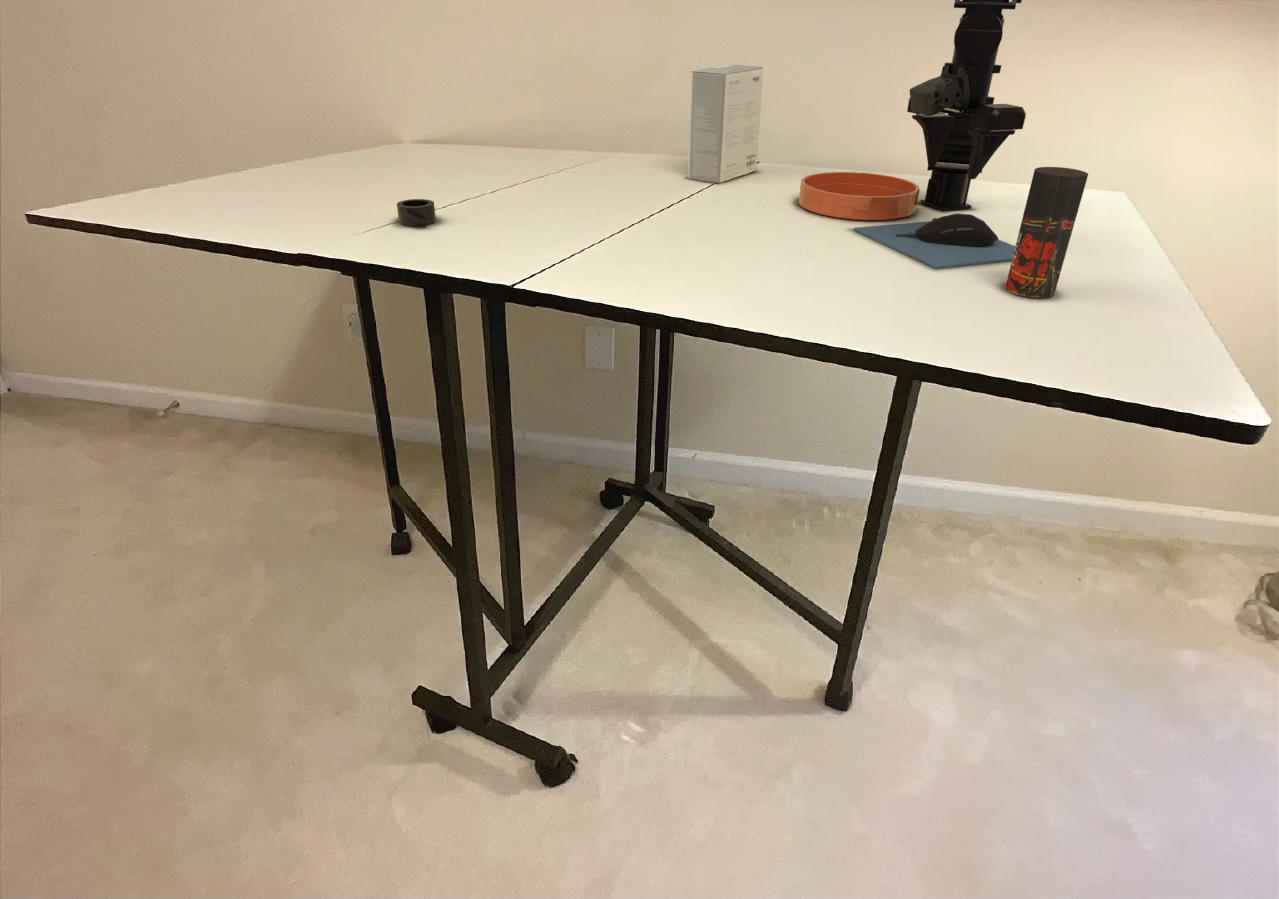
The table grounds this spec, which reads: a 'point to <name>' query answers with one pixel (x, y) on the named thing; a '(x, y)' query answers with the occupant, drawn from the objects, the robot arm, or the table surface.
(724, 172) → the hard drive box
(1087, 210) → the table surface
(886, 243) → the mouse pad
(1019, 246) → the deodorant
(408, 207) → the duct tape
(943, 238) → the gaming mouse
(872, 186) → the bowl
